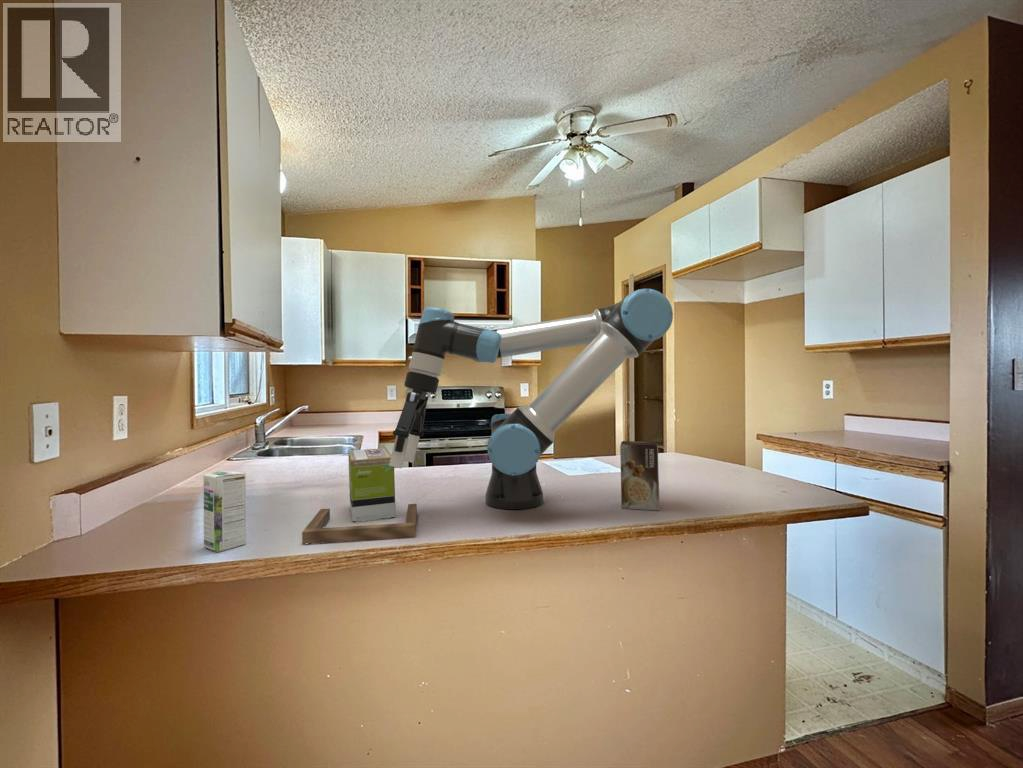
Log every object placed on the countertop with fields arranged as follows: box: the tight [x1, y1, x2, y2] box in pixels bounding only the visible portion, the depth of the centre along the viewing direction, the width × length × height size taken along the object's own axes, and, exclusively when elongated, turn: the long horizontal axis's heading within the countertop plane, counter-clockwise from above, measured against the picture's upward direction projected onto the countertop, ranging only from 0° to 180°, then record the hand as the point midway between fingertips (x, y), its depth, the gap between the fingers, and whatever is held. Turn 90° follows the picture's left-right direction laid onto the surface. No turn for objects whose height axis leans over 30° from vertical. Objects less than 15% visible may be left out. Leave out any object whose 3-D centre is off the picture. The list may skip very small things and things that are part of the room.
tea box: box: [347, 447, 396, 522], centre depth 121 cm, size 15×10×15 cm, turn 21°
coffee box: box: [619, 440, 661, 512], centre depth 123 cm, size 9×6×16 cm
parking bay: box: [301, 503, 418, 545], centre depth 108 cm, size 22×18×2 cm
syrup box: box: [203, 470, 247, 553], centre depth 98 cm, size 6×6×14 cm
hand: (401, 464), depth 113 cm, fingers open, 13 cm apart
